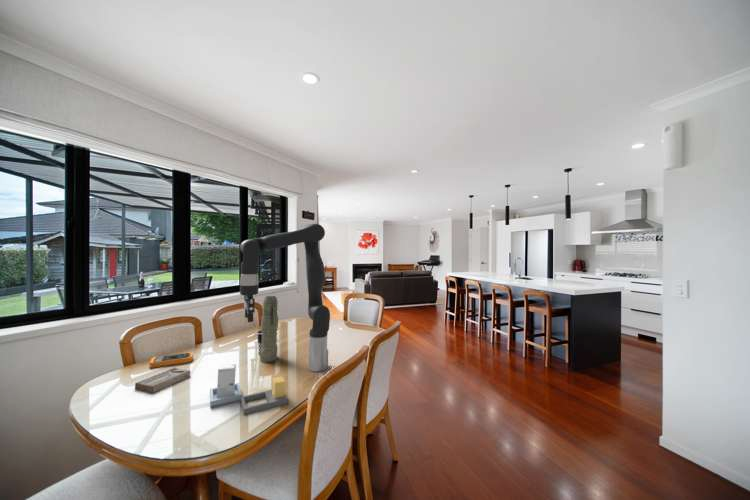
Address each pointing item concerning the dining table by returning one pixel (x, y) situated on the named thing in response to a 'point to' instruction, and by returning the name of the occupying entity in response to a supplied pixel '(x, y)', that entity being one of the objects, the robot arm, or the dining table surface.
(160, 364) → the multimeter
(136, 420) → the dining table surface
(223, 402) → the tray
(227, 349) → the dining table surface
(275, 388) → the block
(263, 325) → the thermos
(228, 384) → the skincare box
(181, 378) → the box
